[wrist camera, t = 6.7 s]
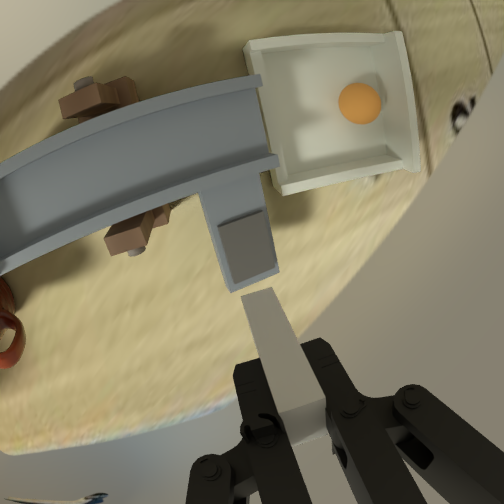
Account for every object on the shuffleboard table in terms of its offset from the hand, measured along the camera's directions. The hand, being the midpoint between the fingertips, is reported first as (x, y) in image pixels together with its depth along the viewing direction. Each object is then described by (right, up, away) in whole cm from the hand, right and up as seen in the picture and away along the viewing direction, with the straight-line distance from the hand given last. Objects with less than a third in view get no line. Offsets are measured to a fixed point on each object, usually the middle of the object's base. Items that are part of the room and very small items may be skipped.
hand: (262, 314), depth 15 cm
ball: (+8, +14, +6) cm, 17 cm away
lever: (-8, +5, +4) cm, 10 cm away
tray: (+6, +15, +8) cm, 18 cm away
